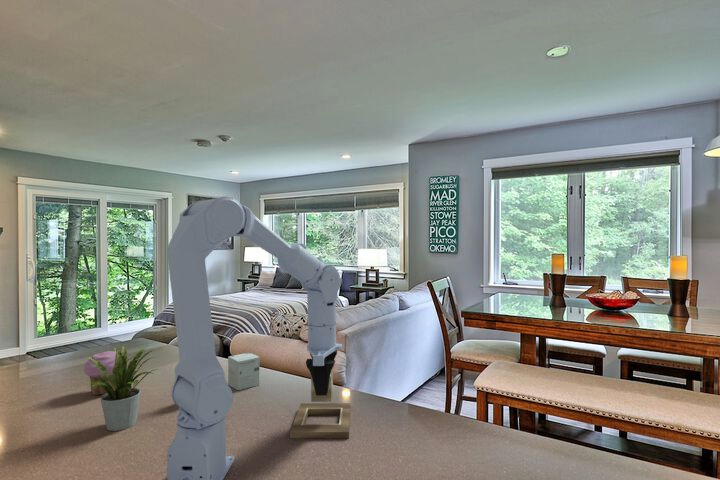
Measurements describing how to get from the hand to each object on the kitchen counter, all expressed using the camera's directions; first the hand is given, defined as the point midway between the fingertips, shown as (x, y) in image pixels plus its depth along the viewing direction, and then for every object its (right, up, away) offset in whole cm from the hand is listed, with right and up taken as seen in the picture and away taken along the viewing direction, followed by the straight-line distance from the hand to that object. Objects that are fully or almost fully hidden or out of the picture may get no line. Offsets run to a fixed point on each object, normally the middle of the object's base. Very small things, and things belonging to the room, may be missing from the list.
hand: (322, 390), depth 81 cm
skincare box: (-22, -7, +22) cm, 32 cm away
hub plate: (0, -7, 0) cm, 6 cm away
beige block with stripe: (0, -2, 0) cm, 2 cm away
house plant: (-39, -7, 0) cm, 40 cm away
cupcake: (-55, -7, +18) cm, 59 cm away
